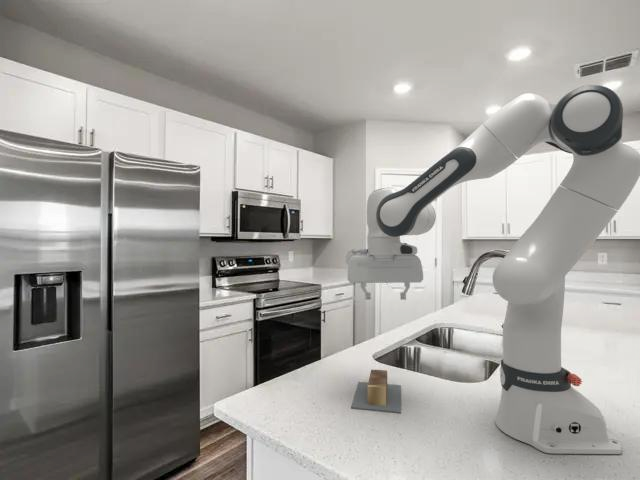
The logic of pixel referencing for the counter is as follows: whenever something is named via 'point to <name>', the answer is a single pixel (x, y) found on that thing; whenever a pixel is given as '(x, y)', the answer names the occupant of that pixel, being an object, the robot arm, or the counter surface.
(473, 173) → the robot arm
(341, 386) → the counter surface
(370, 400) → the block
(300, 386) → the counter surface
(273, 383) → the counter surface
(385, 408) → the mat
